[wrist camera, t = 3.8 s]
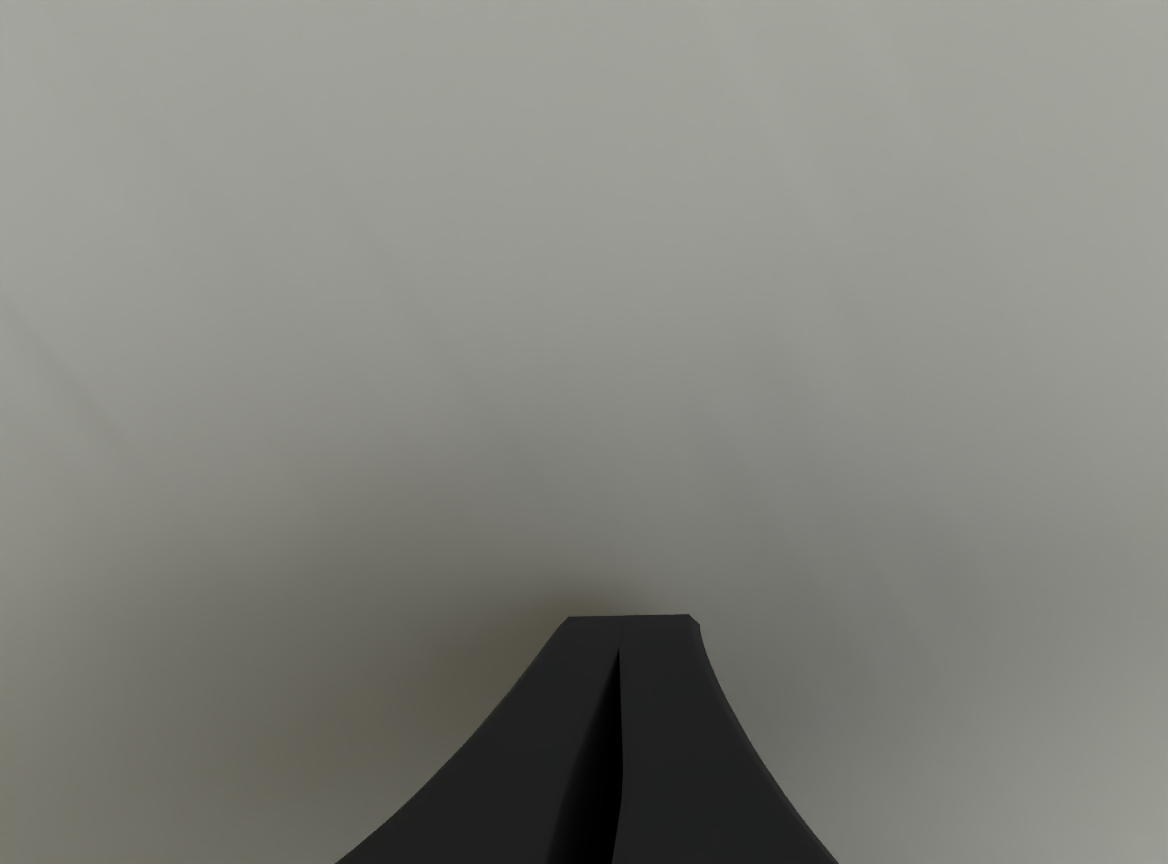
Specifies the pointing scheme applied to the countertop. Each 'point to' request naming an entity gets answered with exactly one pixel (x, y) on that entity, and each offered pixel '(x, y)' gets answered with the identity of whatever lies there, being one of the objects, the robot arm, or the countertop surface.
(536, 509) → the countertop surface
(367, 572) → the countertop surface
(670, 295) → the countertop surface
